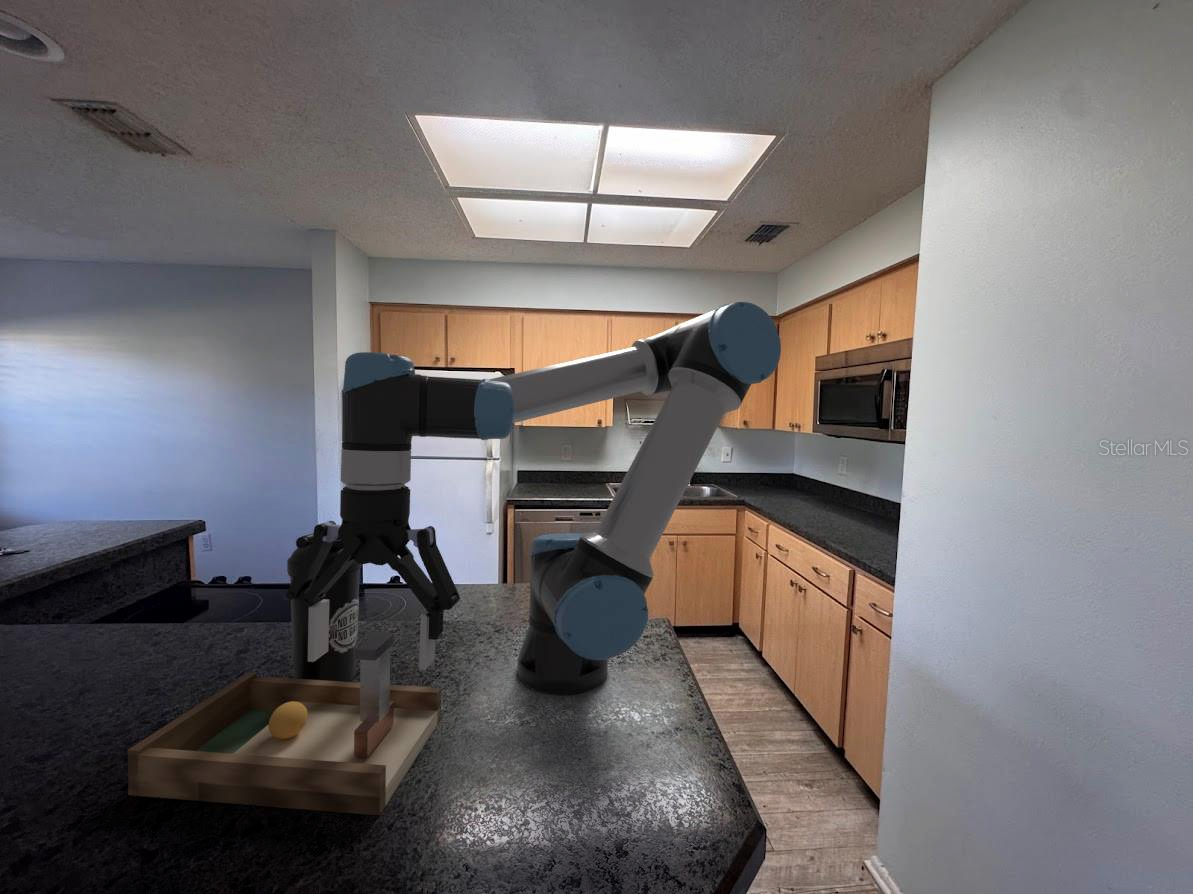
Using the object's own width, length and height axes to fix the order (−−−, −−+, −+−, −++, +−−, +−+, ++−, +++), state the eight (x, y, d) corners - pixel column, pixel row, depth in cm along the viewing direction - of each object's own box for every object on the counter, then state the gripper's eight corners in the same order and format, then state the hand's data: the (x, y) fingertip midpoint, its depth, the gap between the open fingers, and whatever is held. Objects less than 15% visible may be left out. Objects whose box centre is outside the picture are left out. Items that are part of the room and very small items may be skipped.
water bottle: (328, 702, 68) (329, 545, 67) (270, 692, 70) (270, 540, 69) (375, 667, 78) (376, 531, 77) (322, 659, 80) (323, 526, 79)
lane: (440, 719, 64) (441, 684, 64) (379, 815, 48) (379, 768, 48) (248, 706, 66) (248, 672, 66) (128, 795, 50) (127, 749, 50)
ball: (314, 726, 59) (314, 695, 59) (292, 748, 55) (292, 715, 55) (284, 724, 59) (284, 693, 59) (260, 745, 55) (260, 712, 55)
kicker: (396, 724, 59) (397, 631, 59) (370, 757, 53) (371, 653, 53) (378, 723, 60) (379, 630, 59) (350, 756, 54) (351, 652, 53)
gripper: (488, 486, 58) (483, 652, 59) (298, 477, 60) (295, 639, 60) (468, 494, 51) (462, 684, 51) (251, 483, 52) (248, 668, 53)
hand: (372, 660), depth 56 cm, fingers open, 13 cm apart
